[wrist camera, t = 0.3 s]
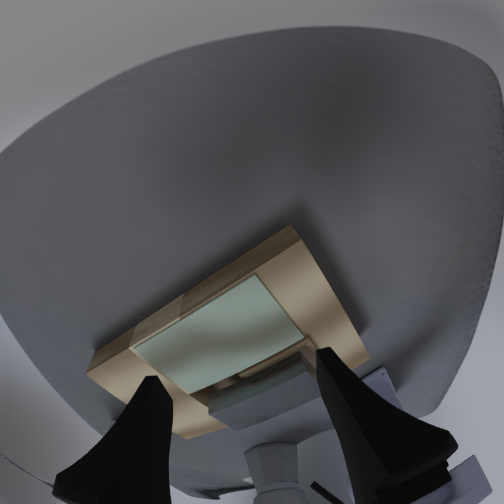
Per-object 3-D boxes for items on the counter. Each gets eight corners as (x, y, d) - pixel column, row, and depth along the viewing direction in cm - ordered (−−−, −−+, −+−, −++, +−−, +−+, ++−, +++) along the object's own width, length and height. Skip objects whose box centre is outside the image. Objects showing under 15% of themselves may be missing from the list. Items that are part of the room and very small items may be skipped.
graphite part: (319, 373, 21) (326, 392, 19) (235, 412, 23) (236, 430, 21) (299, 350, 20) (306, 371, 18) (208, 394, 21) (208, 414, 19)
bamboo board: (358, 337, 24) (372, 361, 21) (187, 419, 28) (186, 442, 25) (290, 223, 19) (303, 241, 16) (94, 352, 22) (84, 376, 19)
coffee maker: (237, 465, 35) (246, 552, 19) (225, 448, 32) (233, 553, 15) (323, 449, 36) (347, 534, 19) (325, 429, 32) (357, 532, 16)
